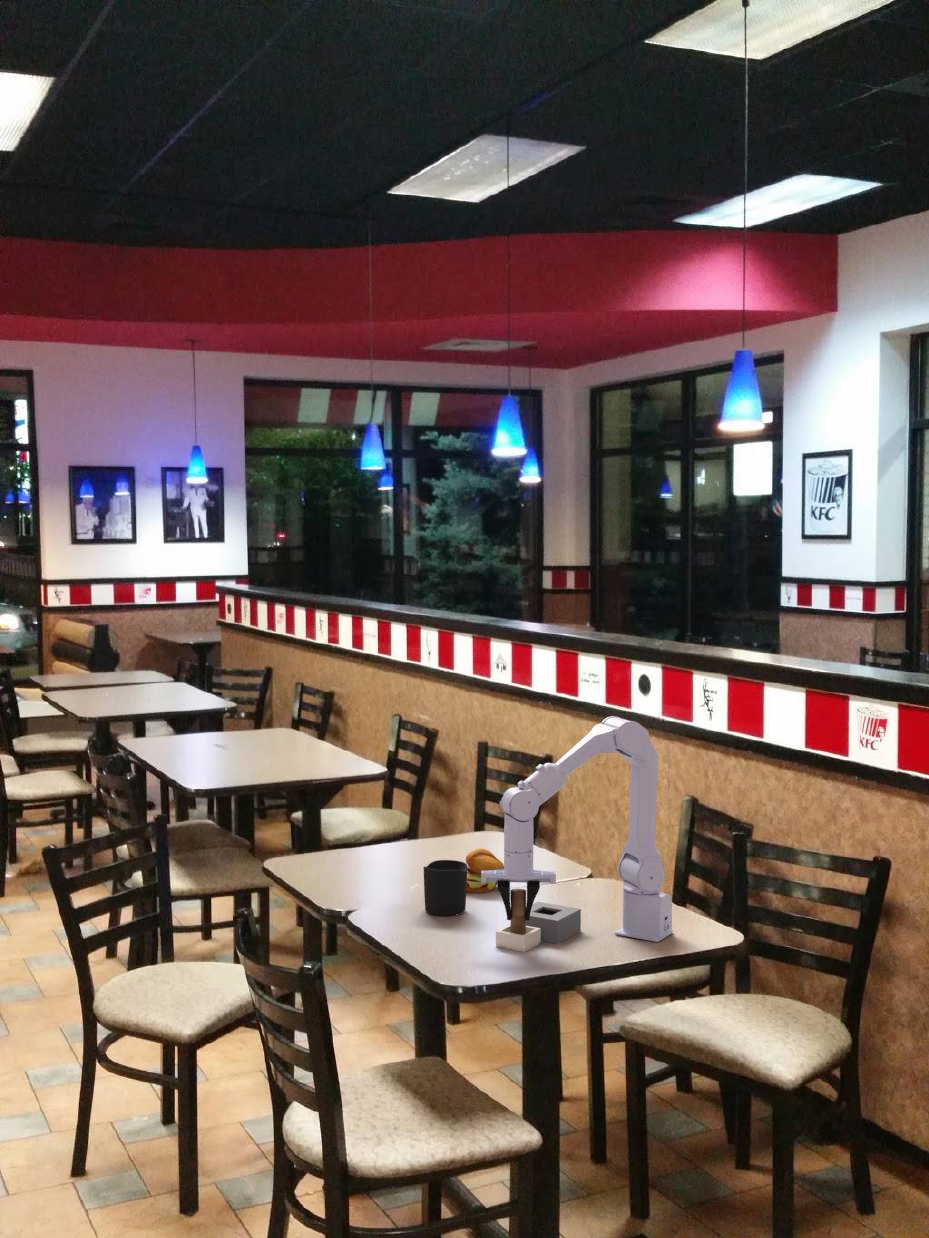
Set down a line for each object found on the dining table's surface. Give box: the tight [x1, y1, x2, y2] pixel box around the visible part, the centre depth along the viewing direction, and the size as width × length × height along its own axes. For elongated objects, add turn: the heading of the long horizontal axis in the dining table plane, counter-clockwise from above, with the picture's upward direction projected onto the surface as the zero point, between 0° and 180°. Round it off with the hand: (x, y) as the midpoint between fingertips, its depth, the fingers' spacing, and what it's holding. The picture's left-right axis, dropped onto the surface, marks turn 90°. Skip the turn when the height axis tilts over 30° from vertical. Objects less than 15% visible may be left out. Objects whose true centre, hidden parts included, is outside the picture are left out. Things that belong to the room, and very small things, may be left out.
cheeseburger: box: [465, 848, 504, 893], centre depth 281 cm, size 10×11×10 cm
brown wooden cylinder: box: [510, 888, 527, 935], centre depth 239 cm, size 3×3×9 cm
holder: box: [495, 923, 542, 953], centre depth 239 cm, size 6×6×3 cm
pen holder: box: [423, 859, 468, 917], centre depth 263 cm, size 9×9×10 cm
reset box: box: [526, 901, 582, 944], centre depth 247 cm, size 10×10×4 cm
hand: (518, 918), depth 239 cm, fingers closed on brown wooden cylinder, 3 cm apart
